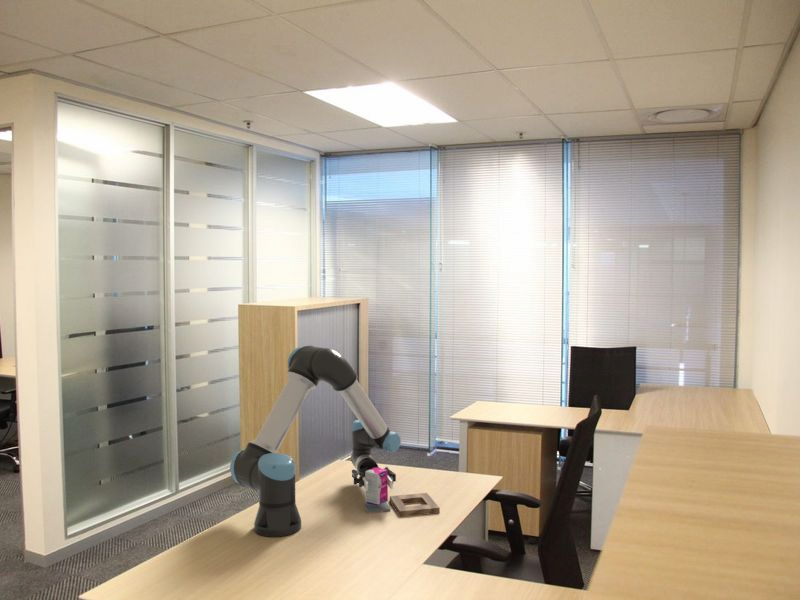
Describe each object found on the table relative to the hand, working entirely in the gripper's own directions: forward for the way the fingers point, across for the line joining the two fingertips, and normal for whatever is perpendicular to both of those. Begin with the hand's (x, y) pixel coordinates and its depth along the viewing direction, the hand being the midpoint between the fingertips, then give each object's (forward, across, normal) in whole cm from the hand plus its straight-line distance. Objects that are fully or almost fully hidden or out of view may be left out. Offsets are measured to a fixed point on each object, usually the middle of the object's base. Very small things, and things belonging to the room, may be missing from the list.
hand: (379, 485), depth 240 cm
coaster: (-5, 0, -10) cm, 11 cm away
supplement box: (-5, 0, -8) cm, 9 cm away
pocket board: (-3, -13, -10) cm, 16 cm away
